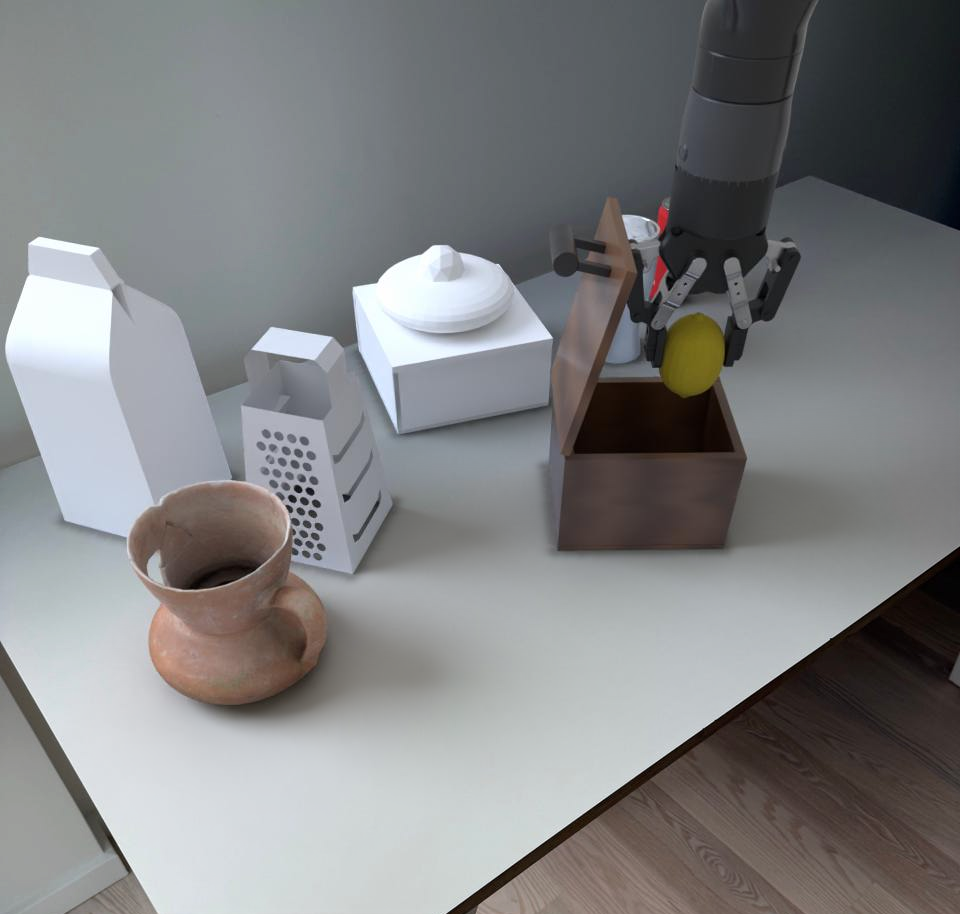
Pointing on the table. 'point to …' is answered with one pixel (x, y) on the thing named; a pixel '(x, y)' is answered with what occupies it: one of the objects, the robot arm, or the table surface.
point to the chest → (647, 470)
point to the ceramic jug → (226, 593)
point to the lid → (588, 313)
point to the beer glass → (629, 332)
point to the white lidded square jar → (451, 341)
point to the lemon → (692, 355)
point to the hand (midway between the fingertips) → (690, 361)
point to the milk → (107, 389)
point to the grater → (314, 443)
